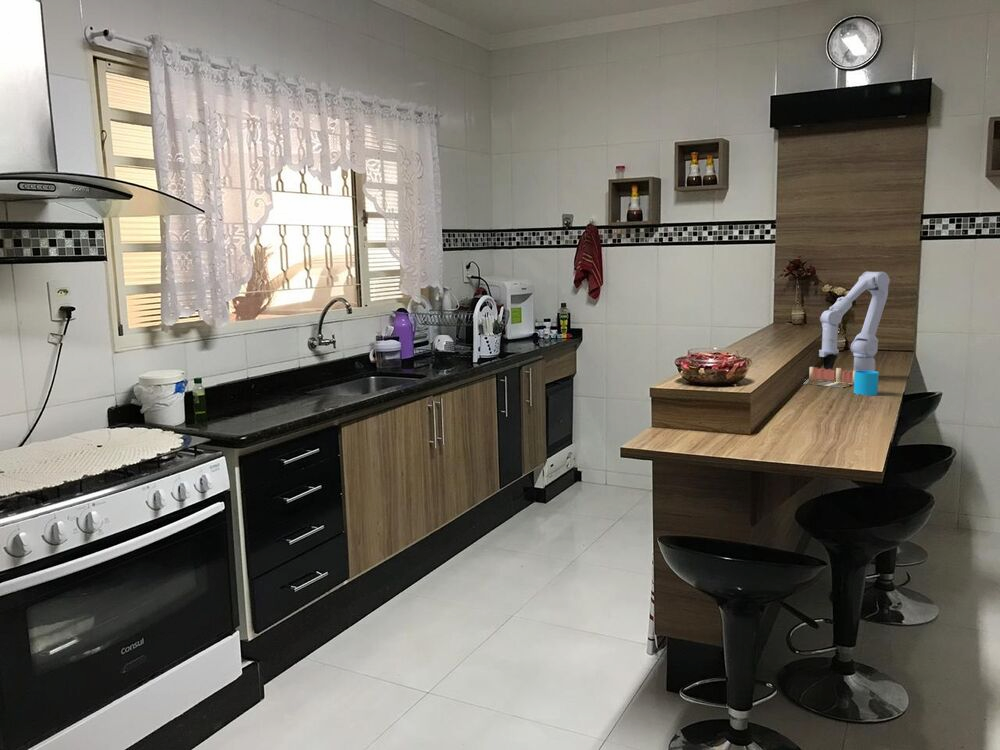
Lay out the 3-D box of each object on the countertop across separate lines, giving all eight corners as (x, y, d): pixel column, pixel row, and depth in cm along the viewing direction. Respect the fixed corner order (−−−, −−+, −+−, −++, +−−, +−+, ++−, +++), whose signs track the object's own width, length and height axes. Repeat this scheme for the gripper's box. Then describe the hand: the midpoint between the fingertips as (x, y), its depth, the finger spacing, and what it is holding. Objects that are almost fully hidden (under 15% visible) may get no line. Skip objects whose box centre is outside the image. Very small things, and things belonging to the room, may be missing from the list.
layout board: (818, 376, 344) (818, 375, 344) (865, 381, 331) (865, 380, 331) (794, 383, 328) (794, 382, 328) (843, 388, 314) (843, 387, 314)
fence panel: (835, 381, 329) (835, 368, 328) (833, 381, 327) (834, 369, 327) (810, 378, 336) (810, 366, 335) (808, 379, 335) (808, 367, 334)
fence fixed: (834, 383, 327) (835, 368, 326) (836, 382, 328) (837, 367, 328) (856, 385, 321) (856, 370, 320) (858, 384, 323) (858, 369, 322)
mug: (875, 396, 297) (876, 374, 296) (851, 394, 301) (852, 372, 300) (881, 391, 307) (882, 370, 305) (857, 389, 311) (858, 368, 310)
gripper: (827, 337, 341) (825, 369, 343) (812, 340, 331) (811, 373, 333) (844, 338, 336) (842, 371, 338) (829, 341, 326) (828, 375, 328)
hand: (828, 372), depth 335 cm, fingers closed
